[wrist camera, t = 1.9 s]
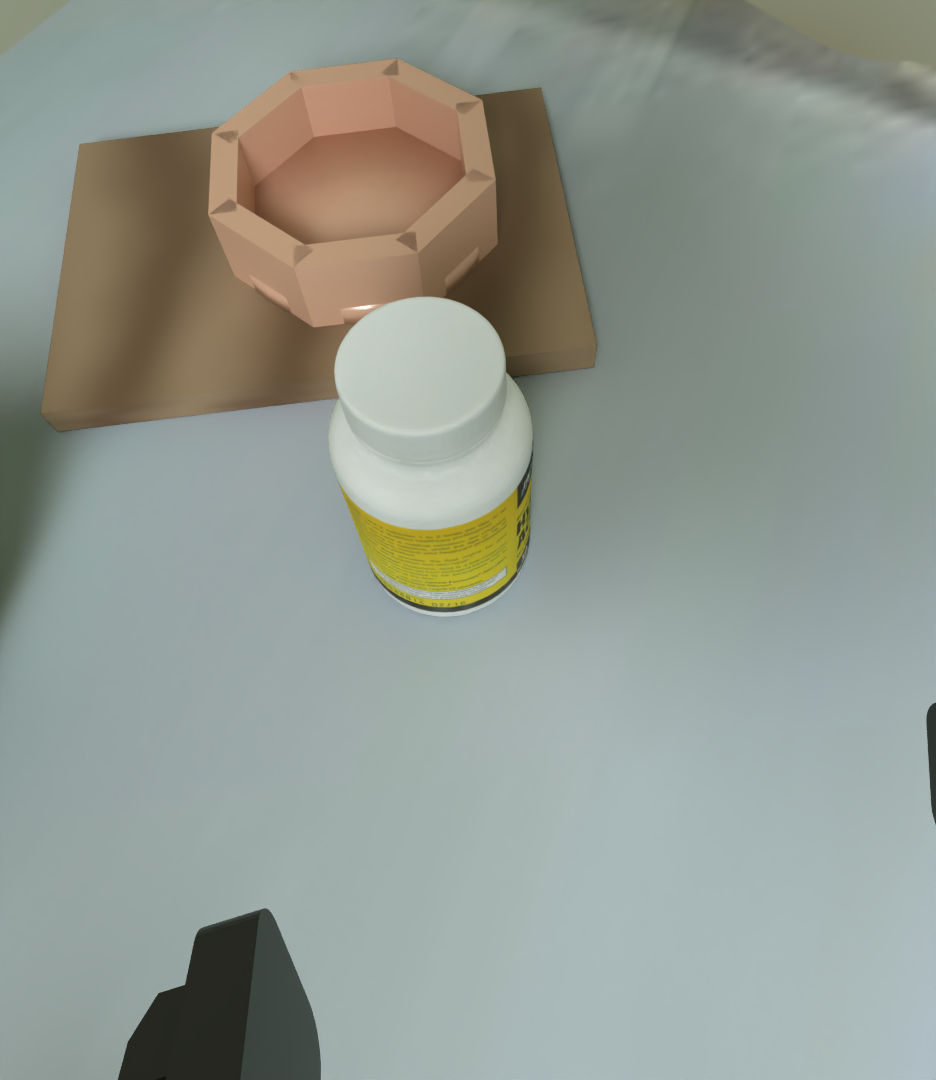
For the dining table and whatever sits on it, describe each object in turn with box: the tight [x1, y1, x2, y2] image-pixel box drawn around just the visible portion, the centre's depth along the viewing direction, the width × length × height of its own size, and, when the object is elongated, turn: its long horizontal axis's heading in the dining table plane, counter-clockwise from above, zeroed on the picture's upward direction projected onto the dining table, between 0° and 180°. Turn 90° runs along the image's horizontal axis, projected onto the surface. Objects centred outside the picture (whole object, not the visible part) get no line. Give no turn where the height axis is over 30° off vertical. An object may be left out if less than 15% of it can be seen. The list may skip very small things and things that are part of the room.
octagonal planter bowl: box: [208, 59, 498, 327], centre depth 31 cm, size 10×10×3 cm
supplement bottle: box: [328, 297, 533, 617], centre depth 23 cm, size 5×5×10 cm
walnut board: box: [41, 88, 597, 432], centre depth 33 cm, size 20×14×1 cm
